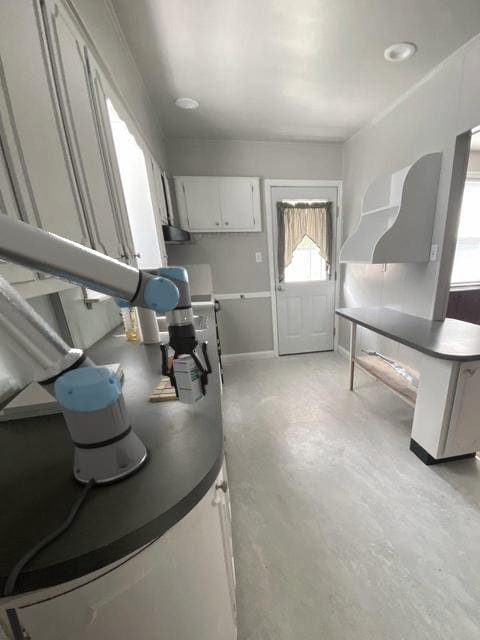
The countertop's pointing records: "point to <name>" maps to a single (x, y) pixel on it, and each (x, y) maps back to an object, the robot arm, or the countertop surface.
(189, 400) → the syrup box
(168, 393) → the board
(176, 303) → the robot arm
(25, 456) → the countertop surface
